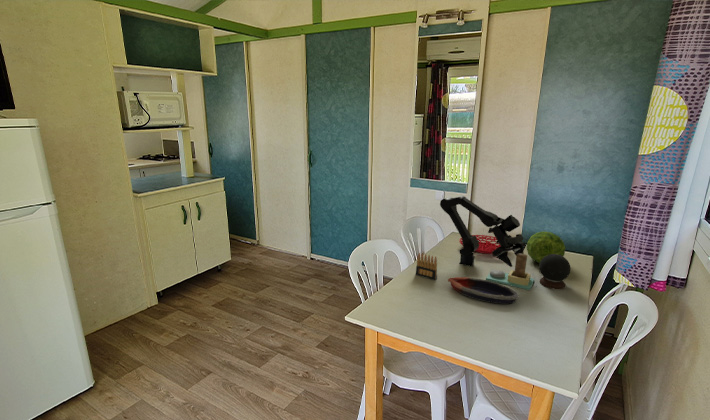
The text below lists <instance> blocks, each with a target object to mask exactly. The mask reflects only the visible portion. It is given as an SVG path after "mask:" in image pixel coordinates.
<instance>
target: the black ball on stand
mask: <svg viewBox="0 0 710 420" xmlns="http://www.w3.org/2000/svg"><path fill="white" fill-rule="evenodd" d="M538 268H539V273H540V274H541V276H542V277H541V278H540V279H539V284H540V285H541V286H543V287H545V288H547V289H551V290H564V289H566V286H567V285H566V283H565V280H566V279H567V278H568V277H569V275H570V274H571V272H572V271H571V265H570V262H569V260H568V259H567V258H566V257H565V256H561V255H558V254H550V255H547V256H545V257H544V258H543V259H542V260H541V262H540V264H539V267H538Z"/></svg>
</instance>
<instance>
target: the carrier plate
mask: <svg viewBox="0 0 710 420" xmlns="http://www.w3.org/2000/svg"><path fill="white" fill-rule="evenodd" d="M514 272H515V269H514V270H513V269H510V271H509V273H508V272H504V271H503V270H500V269H499V270H498V269H491V270H490V272H489V273H488V274H487V276H486V278H485V280H487V281H491V282H494V283H498V284H501V285H505V286H511V287H515V288H519V289H523V290H527V291H531V289H532V287H533V283H534V281H535V278H533V277H531V273H528V272H526V271H525V277H524V278H520V277H515V276H514Z"/></svg>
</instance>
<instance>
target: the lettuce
mask: <svg viewBox="0 0 710 420" xmlns="http://www.w3.org/2000/svg"><path fill="white" fill-rule="evenodd" d="M526 251H527V254H528V255H529V257H530V258H531V260H533V261H534V262H536V263H538V264H539V265H540V262H541V260H542V259H543V258H544V257H545V256H547V255H550V254H558V255H561V256H563V257H565V254H566V246H565V242H564V241H563V239H561V236H559V235H557V234H555V233H553V232H550V231H545V230H544V231H539V232H535V233H534V234H532V235H531V236H530V238H529V239H528V241H527V243H526ZM528 255H527V256H528Z"/></svg>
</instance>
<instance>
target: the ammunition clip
mask: <svg viewBox="0 0 710 420" xmlns="http://www.w3.org/2000/svg"><path fill="white" fill-rule="evenodd" d="M430 256H431V257H430ZM437 258H438V257H437V256H434V255H430V254H428V256H427V254H426V253H425V254H424V253H420V252H418V254H417V260H416V268H415V276H419V277H422V278H426V279H429V280H433V281H436V280H437V279H438V276H437V275H438V269H437V268H438V267H437V266H438V263H437V262H438V259H437Z"/></svg>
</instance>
